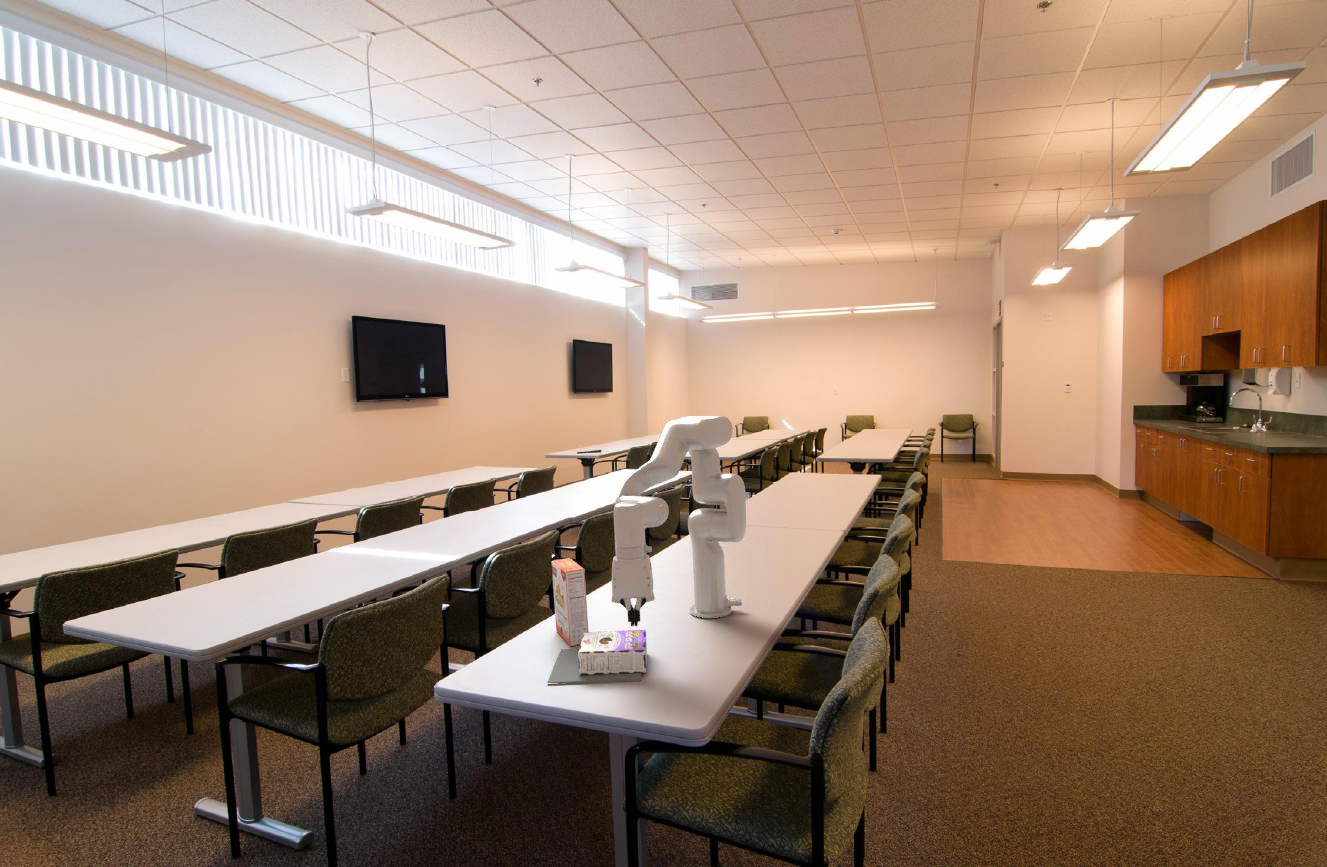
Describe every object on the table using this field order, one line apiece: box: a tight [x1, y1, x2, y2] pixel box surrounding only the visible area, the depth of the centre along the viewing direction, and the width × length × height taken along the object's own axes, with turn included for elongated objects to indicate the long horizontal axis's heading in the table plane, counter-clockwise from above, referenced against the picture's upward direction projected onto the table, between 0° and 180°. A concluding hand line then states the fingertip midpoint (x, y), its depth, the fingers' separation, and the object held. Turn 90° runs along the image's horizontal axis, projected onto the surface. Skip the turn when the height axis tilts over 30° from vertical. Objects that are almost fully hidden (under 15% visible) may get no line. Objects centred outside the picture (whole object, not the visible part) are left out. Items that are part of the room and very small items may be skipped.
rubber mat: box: [546, 648, 642, 684], centre depth 168 cm, size 22×20×1 cm
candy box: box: [578, 629, 648, 675], centre depth 167 cm, size 14×6×16 cm
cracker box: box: [551, 557, 589, 647], centre depth 187 cm, size 14×6×21 cm, turn 24°
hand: (634, 624), depth 167 cm, fingers closed
